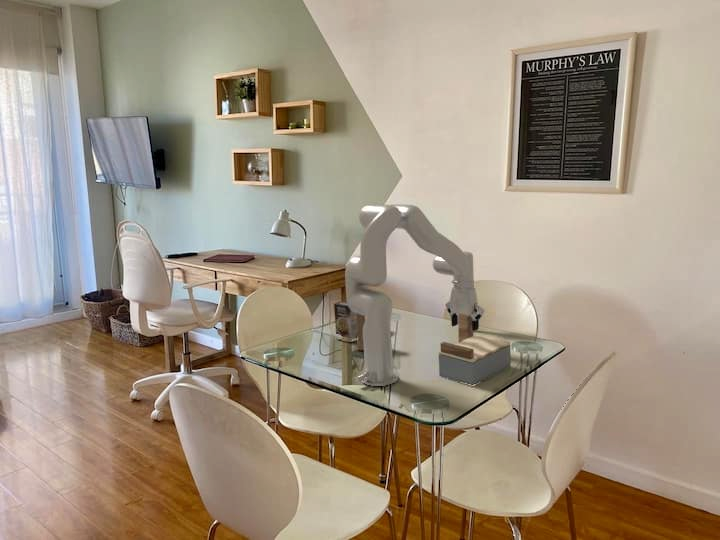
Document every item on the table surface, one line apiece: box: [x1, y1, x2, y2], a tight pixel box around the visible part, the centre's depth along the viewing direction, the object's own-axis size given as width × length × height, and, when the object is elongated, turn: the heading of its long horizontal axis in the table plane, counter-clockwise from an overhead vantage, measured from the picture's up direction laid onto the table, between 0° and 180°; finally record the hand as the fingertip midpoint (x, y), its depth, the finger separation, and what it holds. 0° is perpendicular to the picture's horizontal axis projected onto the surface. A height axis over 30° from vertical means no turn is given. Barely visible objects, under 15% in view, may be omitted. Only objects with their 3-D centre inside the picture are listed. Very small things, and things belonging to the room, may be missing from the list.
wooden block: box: [356, 313, 365, 351], centre depth 215 cm, size 4×11×18 cm, turn 85°
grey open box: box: [438, 344, 512, 385], centre depth 187 cm, size 22×14×8 cm, turn 133°
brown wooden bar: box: [457, 314, 474, 343], centre depth 208 cm, size 4×4×18 cm
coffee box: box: [333, 300, 358, 340], centre depth 230 cm, size 9×6×16 cm
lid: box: [438, 334, 511, 363], centre depth 186 cm, size 22×14×4 cm, turn 133°
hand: (464, 327), depth 208 cm, fingers open, 9 cm apart
